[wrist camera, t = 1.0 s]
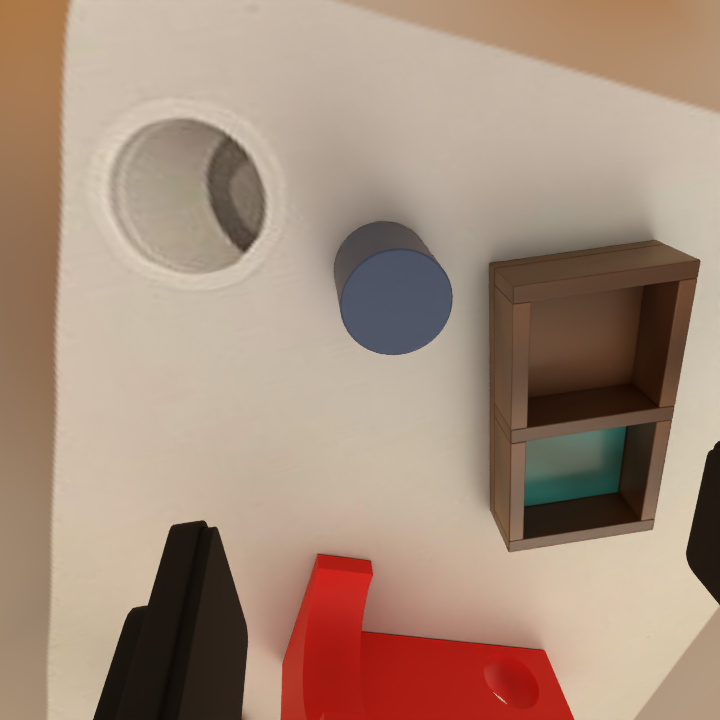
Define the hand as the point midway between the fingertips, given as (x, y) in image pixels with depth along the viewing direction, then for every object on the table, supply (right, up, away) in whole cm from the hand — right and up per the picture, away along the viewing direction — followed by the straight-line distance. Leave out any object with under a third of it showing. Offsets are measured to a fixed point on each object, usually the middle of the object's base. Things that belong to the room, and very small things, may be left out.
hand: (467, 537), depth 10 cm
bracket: (+3, -14, +26) cm, 30 cm away
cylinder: (-1, +8, +15) cm, 17 cm away
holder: (+9, +2, +19) cm, 21 cm away
